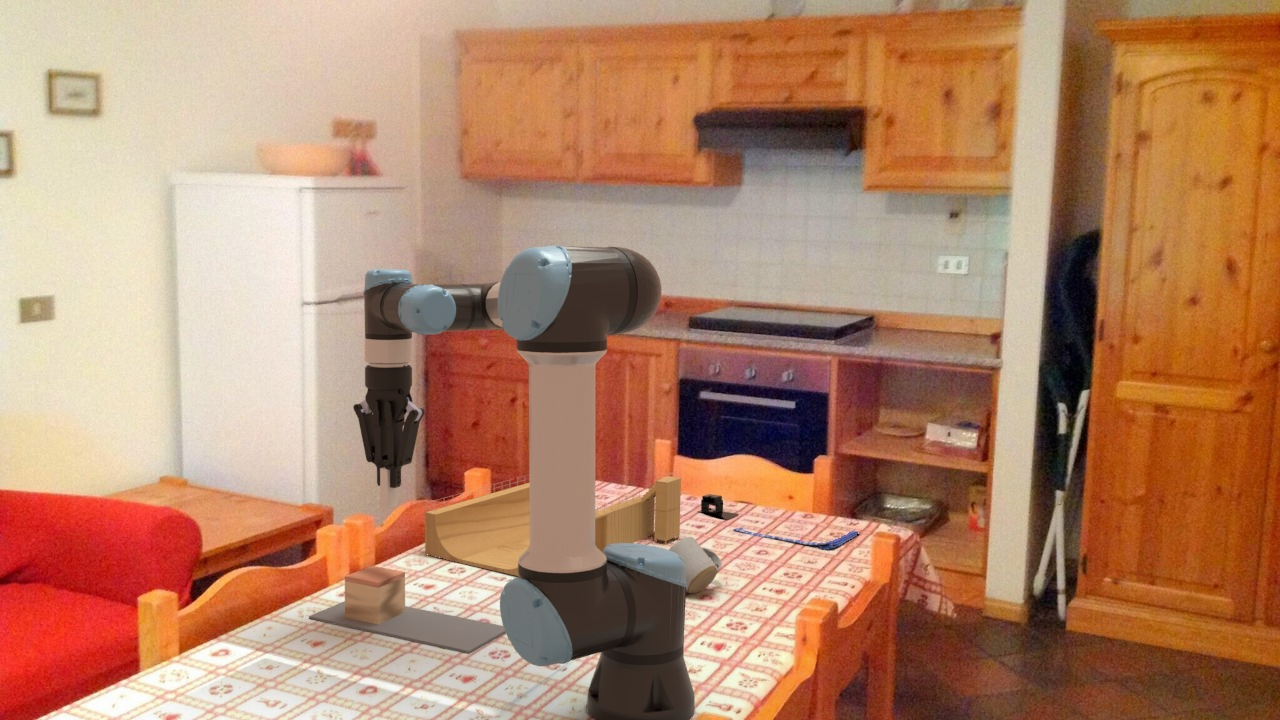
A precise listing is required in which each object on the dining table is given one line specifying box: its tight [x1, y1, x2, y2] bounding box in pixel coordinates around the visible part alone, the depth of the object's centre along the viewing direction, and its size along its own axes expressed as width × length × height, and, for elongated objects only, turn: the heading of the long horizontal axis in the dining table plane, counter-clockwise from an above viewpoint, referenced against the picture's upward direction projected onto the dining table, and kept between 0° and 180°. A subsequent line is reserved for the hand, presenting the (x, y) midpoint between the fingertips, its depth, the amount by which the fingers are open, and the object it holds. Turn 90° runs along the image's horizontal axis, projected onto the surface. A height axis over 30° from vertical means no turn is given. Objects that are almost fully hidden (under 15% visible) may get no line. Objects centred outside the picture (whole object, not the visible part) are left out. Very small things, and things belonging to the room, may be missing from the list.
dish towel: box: [732, 527, 859, 551], centre depth 249 cm, size 17×24×3 cm
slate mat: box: [308, 600, 506, 654], centre depth 189 cm, size 12×32×1 cm, turn 64°
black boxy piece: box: [697, 493, 740, 521], centre depth 263 cm, size 12×7×5 cm, turn 54°
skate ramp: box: [424, 468, 682, 577], centre depth 234 cm, size 40×35×16 cm
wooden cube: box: [344, 565, 406, 625], centre depth 191 cm, size 7×7×7 cm
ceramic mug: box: [668, 536, 723, 595], centre depth 210 cm, size 11×8×8 cm
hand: (389, 505), depth 188 cm, fingers closed
